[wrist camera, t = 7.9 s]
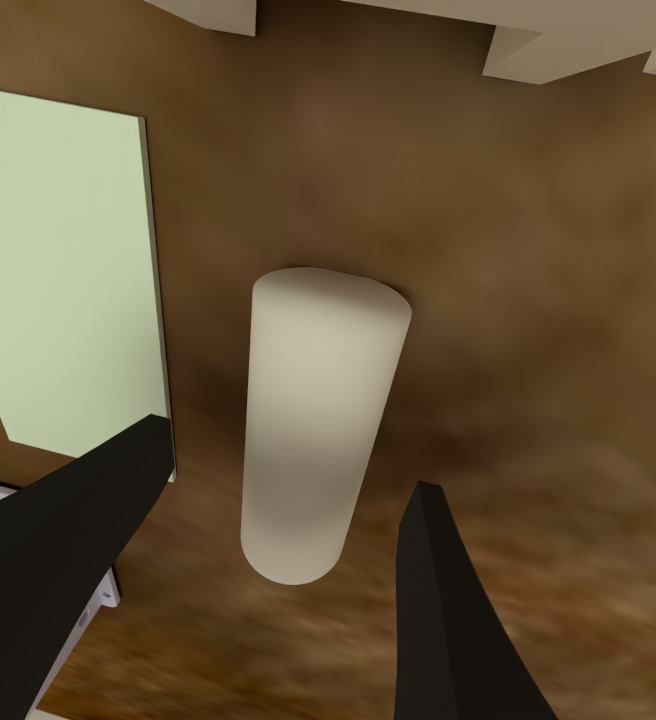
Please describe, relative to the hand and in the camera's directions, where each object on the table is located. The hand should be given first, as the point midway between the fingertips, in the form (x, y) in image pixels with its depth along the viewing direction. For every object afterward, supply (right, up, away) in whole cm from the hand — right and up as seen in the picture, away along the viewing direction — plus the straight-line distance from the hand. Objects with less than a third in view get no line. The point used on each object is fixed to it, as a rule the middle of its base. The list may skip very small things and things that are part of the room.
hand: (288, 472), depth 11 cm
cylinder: (+1, +2, +3) cm, 4 cm away
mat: (-9, +5, +3) cm, 10 cm away
